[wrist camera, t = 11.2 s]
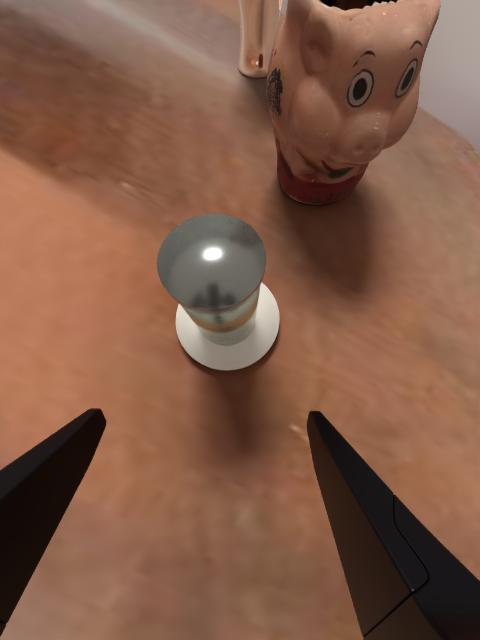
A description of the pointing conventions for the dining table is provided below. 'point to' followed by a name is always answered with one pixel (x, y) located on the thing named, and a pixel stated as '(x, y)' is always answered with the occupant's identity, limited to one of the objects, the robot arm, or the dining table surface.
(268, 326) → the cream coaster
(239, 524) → the dining table surface
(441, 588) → the robot arm
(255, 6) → the beer glass
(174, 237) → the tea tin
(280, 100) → the decorative planter
